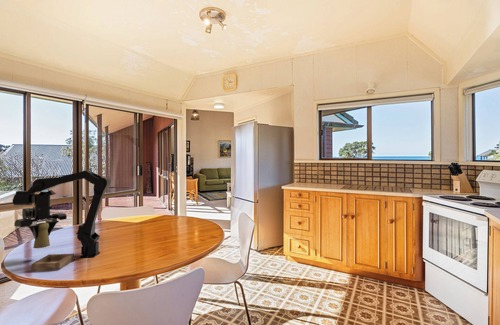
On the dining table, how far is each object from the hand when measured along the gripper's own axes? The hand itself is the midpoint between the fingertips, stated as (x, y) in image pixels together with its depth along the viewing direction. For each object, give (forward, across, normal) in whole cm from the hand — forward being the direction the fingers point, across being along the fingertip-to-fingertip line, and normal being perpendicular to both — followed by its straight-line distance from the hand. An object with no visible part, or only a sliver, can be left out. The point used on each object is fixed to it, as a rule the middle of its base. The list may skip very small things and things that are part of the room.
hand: (42, 237), depth 117 cm
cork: (+4, 0, 0) cm, 4 cm away
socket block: (+10, +2, +13) cm, 16 cm away
